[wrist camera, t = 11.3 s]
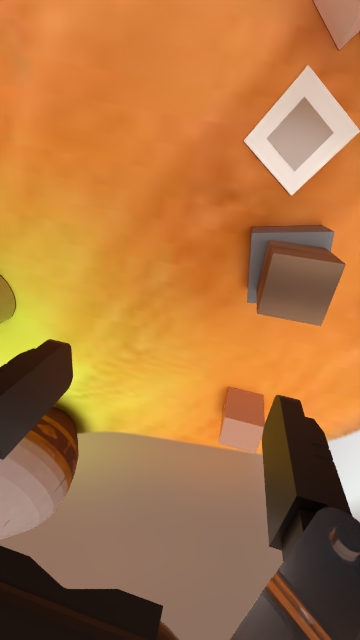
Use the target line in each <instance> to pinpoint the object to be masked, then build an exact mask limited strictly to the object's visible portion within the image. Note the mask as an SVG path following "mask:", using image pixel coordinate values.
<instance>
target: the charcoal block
mask: <svg viewBox="0 0 360 640" xmlns="http://www.w3.org/2000/svg"><path fill="white" fill-rule="evenodd" d="M333 236H334V231H332V230H330V229H328V228H326V227H324V226H322V225H311V226H265V227H252V234H251V250H250V265H249V281H248V299H247V303H257V293H256V289H257V285H258V281H259V277H260V273H261V269H262V265H263V261H264V258H265V254H266V250H267V246H268V242H269V240H275V241H282V242H289V243H295V244H302V245H309V246H316V247H322V248H326V249H327V250H329V251H330V252H331V246H332V241H333Z"/></svg>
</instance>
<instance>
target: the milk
mask: <svg viewBox="0 0 360 640" xmlns="http://www.w3.org/2000/svg"><path fill="white" fill-rule="evenodd" d="M313 2H314V4H315V6H316V7H317V9H318V11H319V13H320V15H321V17H322V19H323V21H324V23H325V25H326V27H327V29H328V30H329V32H330V34H331V36H332V38H333V40H334V42H335V44H336V46H337V48H338V49H339V50H340V49H341V48H342V47H343V46H344V45H345V44H346V43H347V42H349V41H350V40H351V39H352V38H353V37H354V36H355V35H356V34H357V33H358V32H359V31H360V0H313Z"/></svg>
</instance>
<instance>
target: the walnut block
mask: <svg viewBox="0 0 360 640" xmlns="http://www.w3.org/2000/svg"><path fill="white" fill-rule="evenodd" d="M345 265H346V264H345V263H343V262H342V261H341V260H340V259H338V258H337V257H336V256H335V255H334V254H332V253H331V252H330V251H329V250H327V249H326V248H322V247H316V246H309V245H302V244H295V243H289V242H282V241H275V240H269V242H268V246H267V250H266V254H265V258H264V261H263V265H262V269H261V273H260V277H259V281H258V285H257V289H256V293H257V314H262V315H267V316H272V317H277V318H282V319H288V320H293V321H298V322H303V323H308V324H313V325H318V326H321V325H322V322H323V320H324V317H325V315H326V312H327V310H328V307H329V305H330V302H331V300H332V297H333V295H334V292H335V290H336V287H337V285H338V282H339V280H340V277H341V275H342V272H343V270H344V267H345Z"/></svg>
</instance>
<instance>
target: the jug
mask: <svg viewBox="0 0 360 640" xmlns="http://www.w3.org/2000/svg"><path fill="white" fill-rule="evenodd" d="M77 460H78V440H77V431H76V425H75V423H74V421H73V420H72V418H71V417H70V416H69V415H68V414H66V413H65V412H64V411H62V410H60V409H58V408H54V407H51V408H50V409H49V411H48V412H47V413H46V414H45V415H44V416H43V417H42V418H41V419H40V420H39V422H38V423H37V424H36V425H35V426H34V427H33V428H32V429H31V430H30V431H29V433H28V434H27V435H26V436H25V437H24V438H23V439H22V440H21V441H20V442H19V443H18V445H17V446H16V447H15V448H14V449H13V450H12V451H11V452H10V453H9V454H8V456H7V457H6V458H5V459H4V460H2V459H0V539H3V538H6V537H9V536H12V535H15V534H19V533H22V532H24V531H27V530H29V529H32V528H34V527H36V526H38V525H39V524H41V523H42V522H44V521H45V520H46V519H48V518H49V517H50V516H51V515H52V514H53V513H54V512H55V511H56V509H57V508H58V507H59V506H60V504H61V503H62V501H63V499H64V497H65V495H66V494H67V492H68V490H69V487H70V484H71V482H72V479H73V476H74V473H75V469H76V464H77Z"/></svg>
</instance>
